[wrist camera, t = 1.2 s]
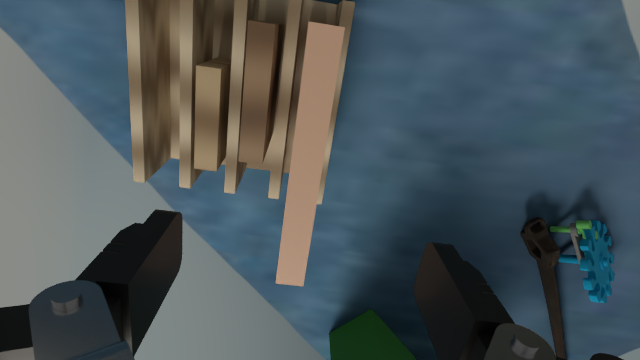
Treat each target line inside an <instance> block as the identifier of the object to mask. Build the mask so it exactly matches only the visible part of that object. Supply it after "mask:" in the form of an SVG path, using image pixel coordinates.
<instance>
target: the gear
mask: <svg viewBox="0 0 640 360" xmlns="http://www.w3.org/2000/svg"><path fill="white" fill-rule="evenodd" d="M550 231H551V232H569V233H570V234H571V237H572V241H573V244H574V247H575V251H576V254H577V255H563V254H560V257H559V262H565V263H576V264H580V270H583V271H587V272H588V278H583V286H584V289H586V290H590V291H589V298H590V300H591V301H593V302H602V303H607V296H610V295H611V294H612V288H611V285H610V281H612V282H613V281H614V276H615V274H614V272H613V271H612V269H611V267H610V263H614V254H613V253H609V252H608V249H607V246H611V245H612V242H611V236H604V234H606V233H607V228H606V225H605V224H604V223H601V222H600V221H598V220H577V221H576V223H571V224H570V227H566V226H550ZM581 234H582V236H583V239H581ZM606 295H607V296H606Z"/></svg>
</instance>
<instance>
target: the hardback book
mask: <svg viewBox="0 0 640 360" xmlns="http://www.w3.org/2000/svg"><path fill="white" fill-rule="evenodd" d="M329 338H330V354H331V360H417V359H416V358H415V357H414V356H413V354H412V353H411V352H410V351H409V350H408V349H407V348H406V347H405V345H404V344H403V343H402V342H401V341H400V340H399V339H398V338H397V336H396V335H395V334H394V333H393V332H392V331H391V330H390V329H389V327H388V326H387V325H386V324H385V323H384V322H383V321H382V320H381V318H380V317H379V316H378V315H377V314H376V313H375V312H374V311H373V310H372V308H371V309H370V310H368V311H366V312H365V313H363V314H361V315H359V316H358V317H356V318H354V319H353V320H351V321H349V322H347V323H346V324H344V325H342V326H341V327H339V328H337V329H335V330H334V331H332V332H330V333H329Z"/></svg>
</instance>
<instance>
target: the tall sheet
mask: <svg viewBox="0 0 640 360" xmlns="http://www.w3.org/2000/svg"><path fill="white" fill-rule="evenodd" d="M344 31H345V27H340V26H334V25H328V24H321V23H315V22H308V30H307V38H306V46H305V54H304V62H303V70H302V78H301V86H300V94H299V102H298V110H297V118H296V126H295V133H294V141H293V149H292V157H291V165H290V173H289V181H288V189H287V197H286V205H285V213H284V221H283V229H282V237H281V245H280V252H279V260H278V268H277V276H276V284H286V285H295V286H303V285H304V278H305V272H306V266H307V260H308V254H309V247H310V241H311V235H312V229H313V223H314V217H315V210H316V204H317V198H318V192H319V186H320V180H321V173H322V167H323V161H324V155H325V149H326V142H327V136H328V130H329V124H330V118H331V112H332V105H333V99H334V93H335V87H336V81H337V75H338V68H339V62H340V56H341V50H342V44H343V37H344Z"/></svg>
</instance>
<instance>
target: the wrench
mask: <svg viewBox="0 0 640 360" xmlns="http://www.w3.org/2000/svg"><path fill="white" fill-rule="evenodd" d="M537 222H538V223H537ZM535 223H537V224H536V225H534V226H532V225H533V224H535ZM531 226H532V227H531ZM521 236H522V238H523V240H524V242H525V244H526V246H527V249H528V251H529V253H530V255H531V256H533V257H534V258H535V259H536V260H537V264H538V268H539V272H540V276H541V280H542V284H543V289H544V293H545V298H546V303H547V308H548V313H549V318H550V324H551V330H552V335H553V341H554V346H555V352H556V356H557V357H560V358H563V359H566V354H565V346H564V337H563V328H562V319H561V311H560V303H559V295H558V287H557V280H556V275H555V270H554V266H555V265H557V264H558V262H559V257H560V248H559V247H558V246H557V245H556V244H555V242H554V241H553V240H552V239H551V237H550V236H549V235H548V228H547V225H546V223H545V221H544V220H543V218H540V217H537V218H534V219H532V220H530V221H528V222H527V223H526V225H525V228H524V231H522V232H521Z"/></svg>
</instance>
